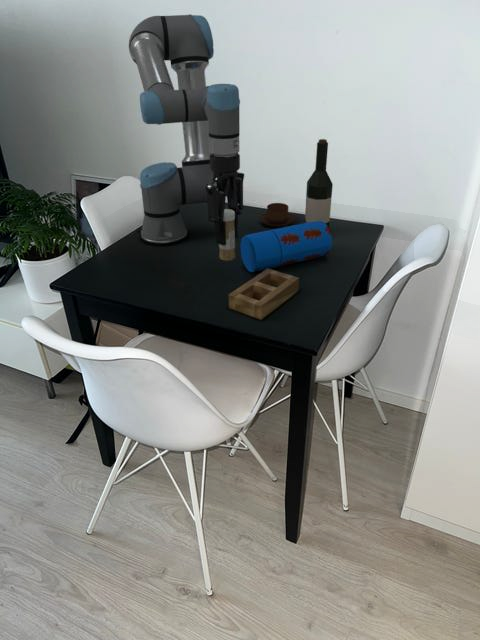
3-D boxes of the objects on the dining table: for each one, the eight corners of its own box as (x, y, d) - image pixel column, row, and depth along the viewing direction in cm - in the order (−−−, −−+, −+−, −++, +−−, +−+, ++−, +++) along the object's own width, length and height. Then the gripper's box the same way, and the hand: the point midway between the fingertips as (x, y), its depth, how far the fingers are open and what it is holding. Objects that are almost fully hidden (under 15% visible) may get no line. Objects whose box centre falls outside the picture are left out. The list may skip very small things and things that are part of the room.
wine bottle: (330, 228, 174) (338, 137, 158) (326, 237, 167) (333, 144, 151) (306, 225, 176) (312, 136, 160) (301, 234, 170) (306, 142, 154)
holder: (228, 308, 130) (228, 294, 128) (267, 281, 142) (267, 268, 140) (261, 320, 125) (261, 306, 123) (298, 290, 137) (299, 277, 135)
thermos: (336, 245, 148) (260, 262, 139) (321, 261, 157) (249, 278, 148) (322, 213, 150) (246, 228, 141) (308, 231, 160) (236, 246, 151)
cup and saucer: (262, 216, 184) (262, 200, 181) (295, 217, 183) (295, 201, 180) (258, 229, 174) (258, 211, 171) (293, 230, 173) (294, 213, 170)
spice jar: (215, 258, 141) (213, 212, 133) (226, 252, 144) (225, 207, 136) (228, 262, 138) (227, 216, 131) (239, 257, 141) (238, 211, 134)
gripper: (214, 164, 117) (217, 255, 130) (257, 147, 129) (256, 233, 142) (189, 159, 121) (195, 248, 134) (233, 143, 133) (235, 227, 146)
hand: (227, 240), depth 138 cm, fingers closed on spice jar, 5 cm apart
